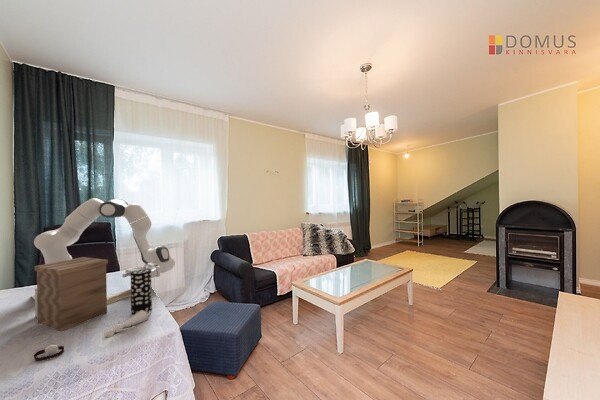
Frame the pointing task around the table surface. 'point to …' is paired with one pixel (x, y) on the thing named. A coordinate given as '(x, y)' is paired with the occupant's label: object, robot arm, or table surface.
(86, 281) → the stand
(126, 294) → the rod
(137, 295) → the white-spotted black cylinder
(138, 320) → the woman figurine
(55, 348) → the watch
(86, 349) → the table surface
